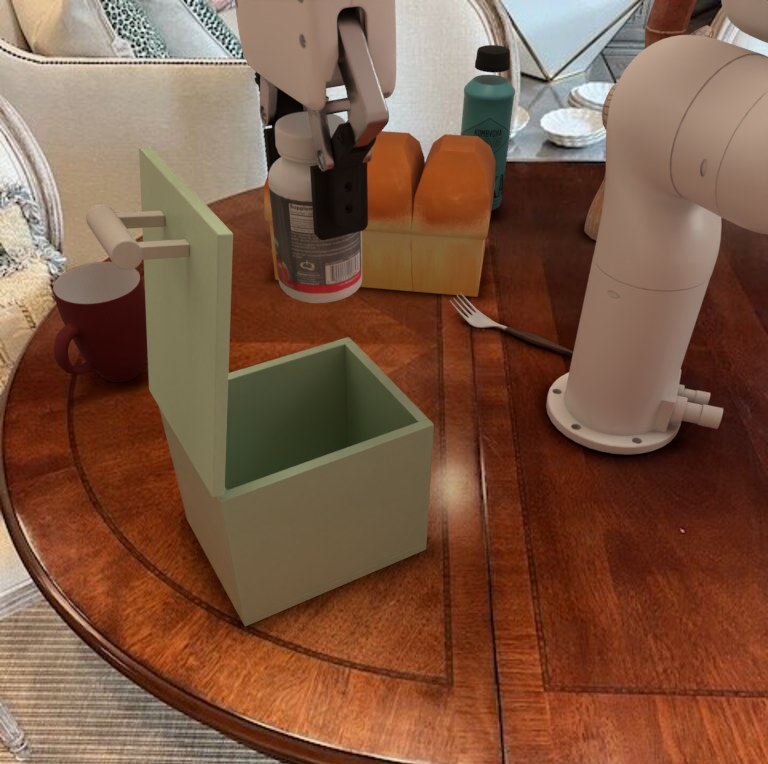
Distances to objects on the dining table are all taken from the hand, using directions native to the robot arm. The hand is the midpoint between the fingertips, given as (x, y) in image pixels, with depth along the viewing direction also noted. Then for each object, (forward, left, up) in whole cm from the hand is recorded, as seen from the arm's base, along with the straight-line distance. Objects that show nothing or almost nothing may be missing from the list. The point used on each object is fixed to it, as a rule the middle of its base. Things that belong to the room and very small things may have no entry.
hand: (317, 209), depth 47 cm
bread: (+12, -42, -26) cm, 51 cm away
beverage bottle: (+5, -60, -26) cm, 66 cm away
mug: (+29, -10, -26) cm, 40 cm away
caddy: (+2, +3, -26) cm, 26 cm away
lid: (+5, +7, -5) cm, 10 cm away
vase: (-14, -61, -26) cm, 68 cm away
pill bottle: (0, 0, -5) cm, 5 cm away
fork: (-7, -32, -26) cm, 42 cm away
